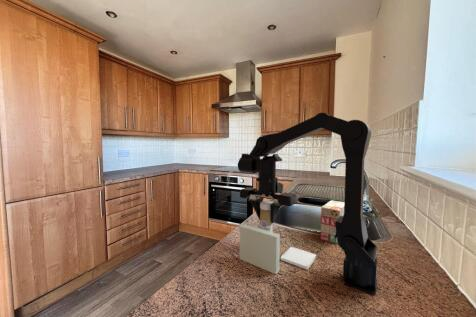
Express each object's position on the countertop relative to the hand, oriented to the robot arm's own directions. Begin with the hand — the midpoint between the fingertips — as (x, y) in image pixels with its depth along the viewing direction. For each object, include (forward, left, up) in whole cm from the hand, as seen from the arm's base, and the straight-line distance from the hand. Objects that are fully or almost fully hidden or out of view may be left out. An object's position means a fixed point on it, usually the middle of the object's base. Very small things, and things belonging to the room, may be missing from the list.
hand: (266, 221), depth 65 cm
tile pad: (-11, 0, -9) cm, 14 cm away
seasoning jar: (0, 0, -7) cm, 7 cm away
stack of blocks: (-16, -28, -9) cm, 34 cm away
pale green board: (-3, +10, -9) cm, 14 cm away
